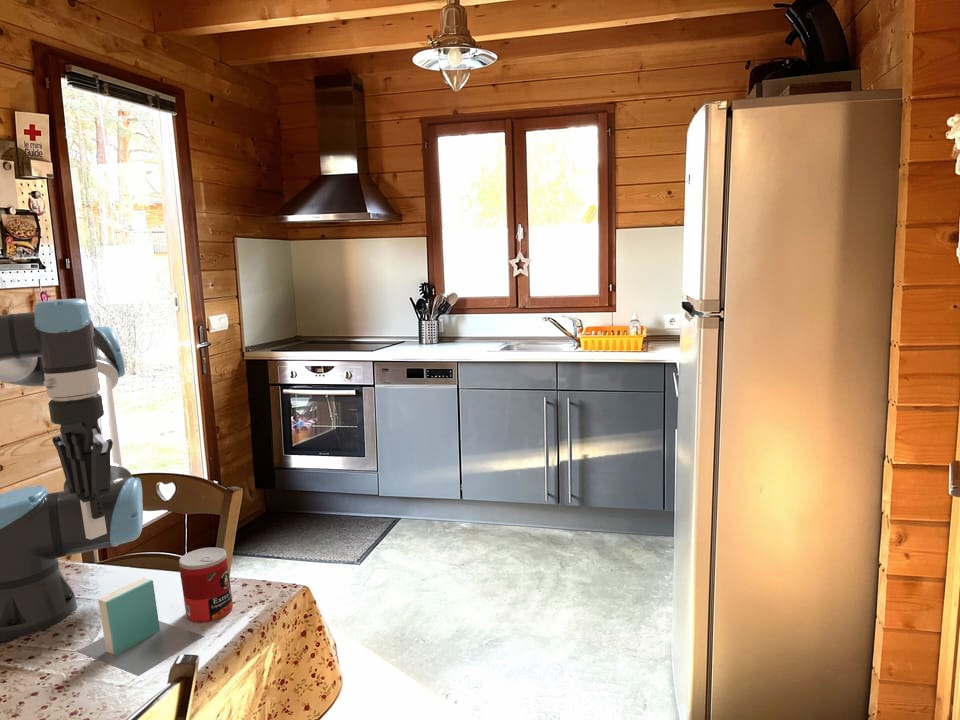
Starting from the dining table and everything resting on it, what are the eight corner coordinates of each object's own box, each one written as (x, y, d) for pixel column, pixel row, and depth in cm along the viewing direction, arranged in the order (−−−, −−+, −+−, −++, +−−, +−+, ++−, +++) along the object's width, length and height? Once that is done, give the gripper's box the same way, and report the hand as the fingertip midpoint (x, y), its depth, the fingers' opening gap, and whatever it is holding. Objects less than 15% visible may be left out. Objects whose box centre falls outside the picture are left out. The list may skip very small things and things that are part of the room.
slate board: (77, 654, 115) (76, 651, 115) (144, 619, 125) (143, 615, 125) (139, 679, 107) (138, 675, 107) (205, 639, 117) (204, 635, 117)
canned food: (218, 627, 121) (210, 566, 119) (176, 625, 122) (168, 565, 121) (242, 604, 128) (235, 547, 126) (202, 602, 130) (195, 546, 128)
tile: (106, 651, 114) (98, 599, 113) (150, 627, 121) (143, 577, 119) (115, 655, 113) (107, 602, 111) (160, 630, 120) (152, 580, 118)
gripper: (28, 398, 113) (51, 538, 117) (75, 403, 107) (98, 551, 110) (74, 389, 120) (94, 522, 123) (121, 393, 113) (141, 533, 117)
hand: (96, 535), depth 117 cm, fingers closed
